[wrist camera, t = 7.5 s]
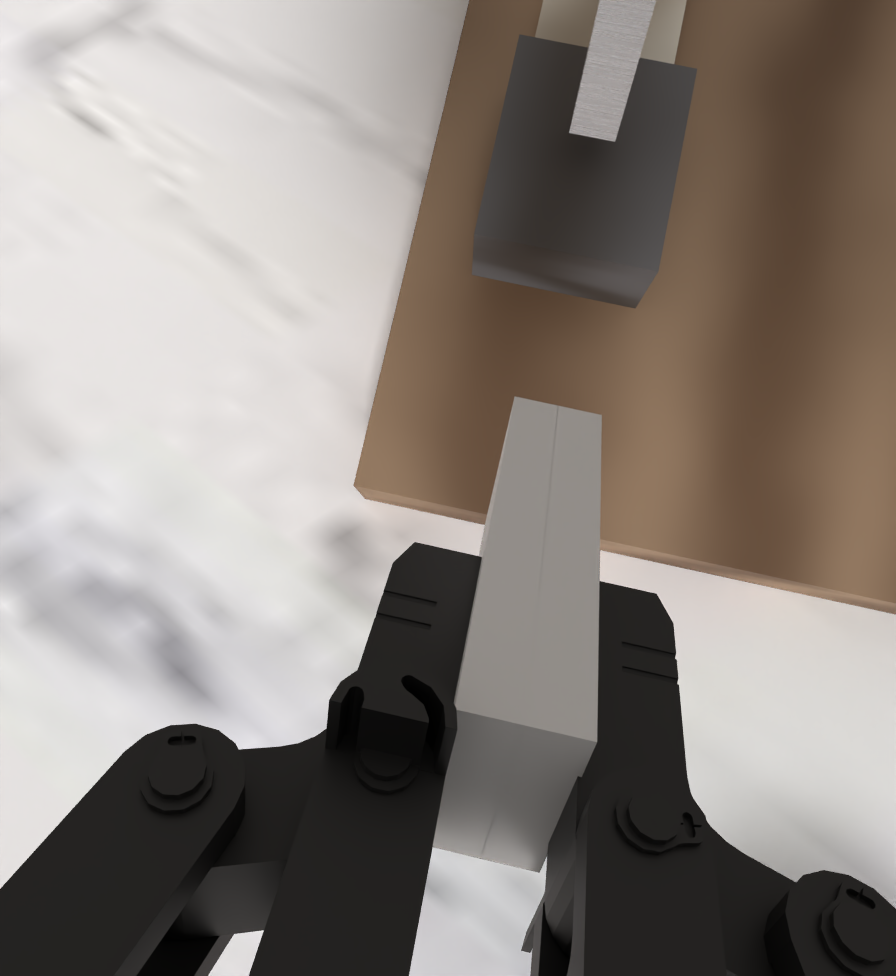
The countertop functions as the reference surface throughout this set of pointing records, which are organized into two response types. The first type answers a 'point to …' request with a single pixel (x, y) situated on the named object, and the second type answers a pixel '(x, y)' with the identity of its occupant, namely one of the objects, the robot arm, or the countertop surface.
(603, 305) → the brown wooden base
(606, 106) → the lever
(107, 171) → the countertop surface
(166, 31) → the countertop surface
